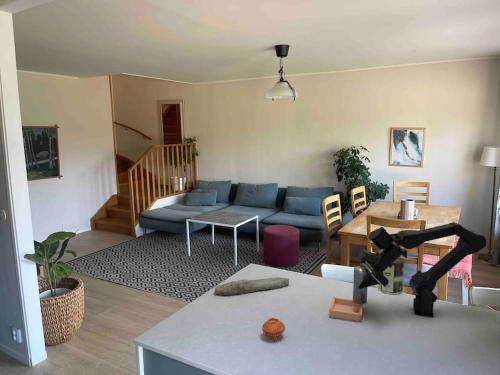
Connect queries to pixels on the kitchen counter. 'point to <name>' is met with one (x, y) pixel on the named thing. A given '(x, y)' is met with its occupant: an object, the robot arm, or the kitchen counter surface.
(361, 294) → the dark grey cylinder
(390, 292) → the coffee can
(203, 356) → the kitchen counter surface
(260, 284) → the elongated rock
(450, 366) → the kitchen counter surface
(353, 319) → the terracotta bin
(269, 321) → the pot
